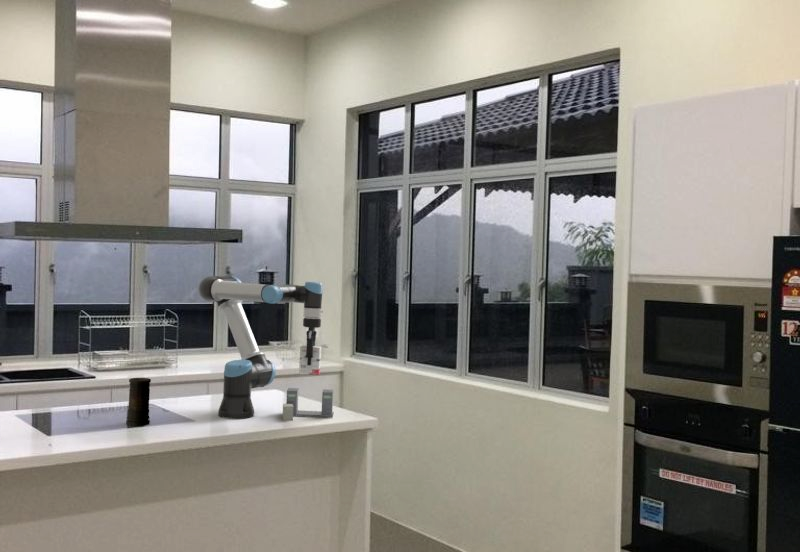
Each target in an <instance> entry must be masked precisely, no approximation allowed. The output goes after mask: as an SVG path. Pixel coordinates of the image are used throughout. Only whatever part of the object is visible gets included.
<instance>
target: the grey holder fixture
mask: <svg viewBox="0 0 800 552" xmlns="http://www.w3.org/2000/svg"><path fill="white" fill-rule="evenodd" d="M299 390H300V389H299V388H296V387H288V388H287V390H286V403H285V404H293V406H294V407H293V417H303V418H305V417H306V418H326V417H334V413H335V412H334V411H333V410H334V407H333V406H334V389H325V388H324V389H322V395H321V397H322V398H321V411H320V410H319V411H318V410H298V409H299Z"/></svg>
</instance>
